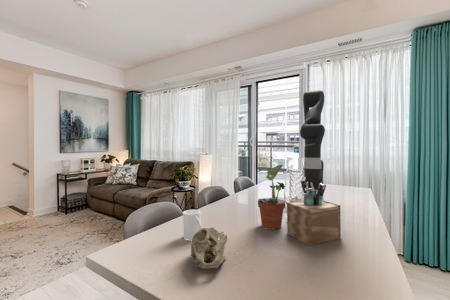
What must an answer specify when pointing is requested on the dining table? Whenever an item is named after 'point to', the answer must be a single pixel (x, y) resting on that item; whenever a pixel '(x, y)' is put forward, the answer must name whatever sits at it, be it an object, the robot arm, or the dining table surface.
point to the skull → (208, 247)
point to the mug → (191, 223)
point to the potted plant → (272, 204)
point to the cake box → (313, 224)
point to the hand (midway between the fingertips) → (312, 204)
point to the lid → (309, 205)
